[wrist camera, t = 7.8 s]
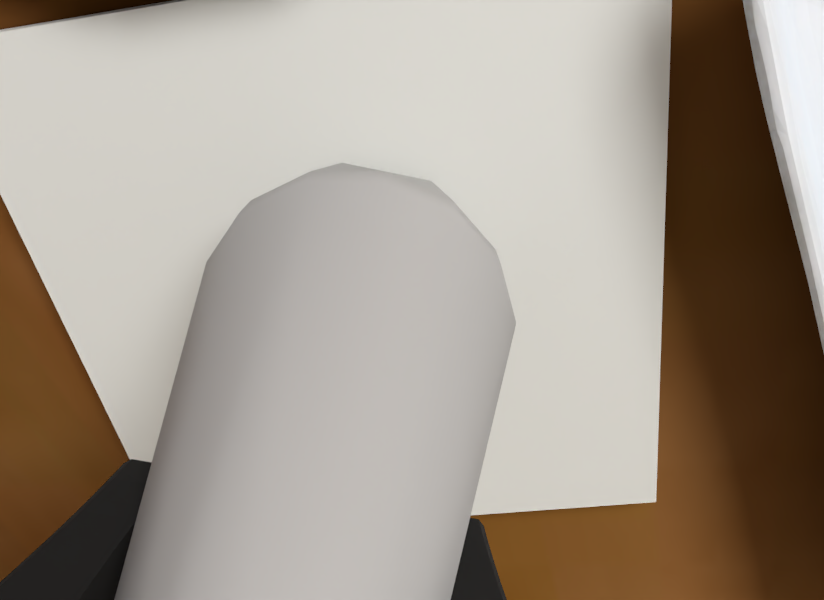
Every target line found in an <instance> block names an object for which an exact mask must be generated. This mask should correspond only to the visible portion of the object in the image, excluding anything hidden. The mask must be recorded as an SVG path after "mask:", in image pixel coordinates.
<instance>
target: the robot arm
mask: <svg viewBox="0 0 824 600" xmlns="http://www.w3.org/2000/svg"><path fill="white" fill-rule="evenodd" d="M151 463H152V462H146V461H140V460H135V459H131V460H129V461H127V462H125V463H124V464H123V465H122V466H121V467H120V468H119V469H118V470H117V471H116V472H115V473H114V474H113V475H112V476H111V477H110V478H109V479H108V480H107V481H106V483H105V484H104V485H103V486H102V487H101V488H100V489H99V490H98V491H97V492H96V493H95V494H94V495H93V496H92V497H91V498H90V499H89V500H88V501H87V502H86V503H85V504H84V505H83V506H82V507H81V508H80V509H79V510H78V511H77V512H76V513H74V514H73V515H72V516H71V517H70V518H69V519H68V520H67V521H66V522H65V523H64V524H63V525H62V526H61V527H60V528H59V529H58V530H57V531H56V532H55V533H54V534H53V535H52V536H50V537H49V538H48V539H47V540H46V541H45V542H44V543H43V544H42V545H41V546H40V547H38V548H37V549H36V550H35V551H34V552H33V553H32V554H31V555H30V556H29V557H27V558H26V559H25V560H24V561H23V562H22V563H21V564H20V565H19V566H18V567H17V568H15V569H14V570H13V571H12V572H11V573H10V574H9V575H8V576H7V577H5V578H4V579H3V580H2V581H1V582H0V600H114V599H115V595H116V592H117V588H118V584H119V581H120V577H121V573H122V570H123V566H124V562H125V559H126V555H127V551H128V548H129V544H130V540H131V537H132V533H133V529H134V526H135V522H136V518H137V515H138V511H139V507H140V504H141V500H142V496H143V493H144V489H145V485H146V482H147V478H148V474H149V471H150V467H151ZM451 600H507V599H506V597H505V594H504V591H503V588H502V585H501V582H500V579H499V576H498V573H497V570H496V567H495V564H494V560H493V557H492V554H491V551H490V547H489V544H488V540H487V537H486V533H485V529H484V526H483V525H482V523H481V522H480V521H479V520H478V519H473V518H470V520H469V524H468V528H467V533H466V537H465V541H464V545H463V550H462V554H461V558H460V562H459V566H458V571H457V575H456V579H455V583H454V587H453V592H452V596H451Z"/></svg>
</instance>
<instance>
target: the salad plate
mask: <svg viewBox="0 0 824 600" xmlns="http://www.w3.org/2000/svg"><path fill="white" fill-rule="evenodd" d="M743 5H744V11H745V16H746V21H747V27H748V32H749V38H750V43H751V49H752V54H753V59H754V65H755V70H756V74H757V79H758V83H759V88H760V92H761V97H762V101H763V106H764V110H765V115H766V119H767V123H768V127H769V131H770V135H771V139H772V143H773V147H774V151H775V155H776V159H777V163H778V167H779V171H780V175H781V179H782V183H783V187H784V191H785V195H786V198H787V202H788V206H789V210H790V214H791V218H792V222H793V226H794V230H795V234H796V238H797V241H798V245H799V249H800V253H801V257H802V261H803V265H804V269H805V273H806V276H807V280H808V285H809V289H810V294H811V298H812V303H813V307H814V312H815V316H816V321H817V325H818V330H819V335H820V339H821V344H822V348H823V353H824V0H743Z"/></svg>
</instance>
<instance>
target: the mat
mask: <svg viewBox="0 0 824 600" xmlns="http://www.w3.org/2000/svg"><path fill="white" fill-rule="evenodd" d="M671 17H672V0H172V1H166V2H160V3H154V4H148V5H142V6H136V7H131V8H125V9H119V10H113V11H107V12H101V13H95V14H90V15H84V16H78V17H72V18H66V19H60V20H54V21H49V22H43V23H37V24H31V25H25V26H19V27H13V28H8V29H2V30H0V195H1V197H2V199H3V201H4V203H5V205H6V207H7V209H8V211H9V213H10V215H11V217H12V219H13V221H14V223H15V225H16V227H17V229H18V231H19V233H20V236H21V238H22V240H23V242H24V244H25V246H26V248H27V250H28V252H29V254H30V256H31V258H32V260H33V262H34V264H35V266H36V268H37V270H38V272H39V274H40V276H41V279H42V281H43V283H44V285H45V287H46V289H47V291H48V293H49V295H50V297H51V299H52V301H53V303H54V305H55V307H56V309H57V311H58V313H59V315H60V317H61V319H62V322H63V324H64V326H65V328H66V330H67V332H68V334H69V336H70V338H71V340H72V342H73V344H74V346H75V348H76V350H77V352H78V354H79V356H80V358H81V360H82V362H83V365H84V367H85V369H86V371H87V373H88V375H89V377H90V379H91V381H92V383H93V385H94V387H95V389H96V391H97V393H98V395H99V397H100V399H101V401H102V403H103V405H104V408H105V410H106V412H107V414H108V416H109V418H110V420H111V422H112V424H113V426H114V428H115V430H116V432H117V434H118V436H119V438H120V440H121V442H122V444H123V446H124V448H125V451H126V453H127V455H128V457H129V459H130V460H131V459H135V460H140V461H146V462H152V460H153V456H154V452H155V449H156V445H157V441H158V438H159V434H160V430H161V427H162V423H163V419H164V416H165V412H166V408H167V405H168V401H169V397H170V394H171V390H172V386H173V383H174V379H175V375H176V372H177V368H178V364H179V361H180V357H181V353H182V350H183V346H184V342H185V339H186V335H187V331H188V328H189V324H190V320H191V317H192V313H193V309H194V306H195V302H196V298H197V295H198V291H199V287H200V284H201V280H202V276H203V273H204V269H205V265H206V262H207V260H208V259H209V257H210V256H211V254H212V253H213V251H214V250H215V248H216V247H217V245H218V244H219V242H220V241H221V239H222V238H223V236H224V235H225V233H226V232H227V230H228V229H229V227H230V226H231V224H232V223H233V221H234V220H235V218H236V217H237V215H238V214H239V212H240V211H241V210H242V209H243V208H244V207H245V206H246V205H247V204H248V203H249V202H250V201H251V200H253V199H255V198H257V197H259V196H261V195H263V194H265V193H267V192H269V191H271V190H273V189H275V188H277V187H279V186H281V185H283V184H285V183H287V182H290V181H292V180H294V179H296V178H298V177H300V176H302V175H304V174H306V173H308V172H310V171H313V170H317V169H321V168H324V167H328V166H331V165H335V164H339V163H346V164H351V165H356V166H361V167H366V168H371V169H376V170H380V171H385V172H390V173H395V174H400V175H405V176H410V177H415V178H420V179H424V180H429V181H432V182H433V183H434V184H435V185H436V186H437V187H438V188H440V189H441V190H442V191H443V192H444V193H445V194H446V195H447V196H449V197H450V198H451V199H452V200H453V201H454V202H455V203H456V205H457V206H458V207H459V208H460V209H461V210H462V212H463V213H464V214H465V215H466V216H467V217H468V218H469V220H470V221H471V222H472V223H473V224H474V225H475V226H476V228H477V229H478V230H479V231H480V232H481V233H482V234H483V236H484V237H485V238H486V239H487V240H488V241H489V242H490V244H491V245H492V246H493V247H494V248H495V249H496V252H497V255H498V258H499V260H500V263H501V267H502V270H503V274H504V278H505V282H506V286H507V289H508V293H509V297H510V301H511V305H512V309H513V312H514V316H515V320H516V326H515V330H514V335H513V339H512V343H511V347H510V352H509V356H508V360H507V364H506V368H505V373H504V377H503V381H502V385H501V389H500V394H499V398H498V402H497V406H496V411H495V415H494V419H493V423H492V427H491V432H490V436H489V440H488V444H487V448H486V453H485V457H484V461H483V465H482V470H481V474H480V478H479V482H478V486H477V491H476V495H475V499H474V503H473V507H472V512H471V515H482V514H496V513H510V512H524V511H538V510H552V509H566V508H580V507H594V506H608V505H622V504H636V503H649V502H656V489H657V457H658V426H659V395H660V363H661V332H662V300H663V269H664V237H665V206H666V174H667V143H668V111H669V80H670V49H671Z"/></svg>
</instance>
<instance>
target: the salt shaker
mask: <svg viewBox="0 0 824 600" xmlns="http://www.w3.org/2000/svg"><path fill="white" fill-rule="evenodd" d="M515 326H516V320H515V316H514V312H513V309H512V305H511V301H510V297H509V293H508V289H507V286H506V282H505V278H504V274H503V270H502V267H501V263H500V260H499V258H498V255H497V252H496V249H495V248H494V247H493V246H492V245H491V244H490V242H489V241H488V240H487V239H486V238H485V237H484V236H483V234H482V233H481V232H480V231H479V230H478V229H477V228H476V226H475V225H474V224H473V223H472V222H471V221H470V220H469V218H468V217H467V216H466V215H465V214H464V213H463V212H462V210H461V209H460V208H459V207H458V206H457V205H456V203H455V202H454V201H453V200H452V199H451V198H450V197H449V196H447V195H446V194H445V193H444V192H443V191H442V190H441V189H440V188H438V187H437V186H436V185H435V184H434V183H433V182H432V181H429V180H424V179H420V178H415V177H410V176H405V175H400V174H395V173H390V172H385V171H380V170H376V169H371V168H366V167H361V166H356V165H351V164H346V163H339V164H335V165H331V166H328V167H324V168H321V169H317V170H313V171H310V172H308V173H306V174H304V175H302V176H300V177H298V178H296V179H294V180H292V181H290V182H287V183H285V184H283V185H281V186H279V187H277V188H275V189H273V190H271V191H269V192H267V193H265V194H263V195H261V196H259V197H257V198H255V199H253V200H251V201H250V202H249V203H248V204H247V205H246V206H245V207H244V208H243V209H242V210H241V211H240V212H239V214H238V215H237V217H236V218H235V220H234V221H233V223H232V224H231V226H230V227H229V229H228V230H227V232H226V233H225V235H224V236H223V238H222V239H221V241H220V242H219V244H218V245H217V247H216V248H215V250H214V251H213V253H212V254H211V256H210V257H209V259H208V260H207V262H206V265H205V269H204V273H203V276H202V280H201V284H200V287H199V291H198V295H197V298H196V302H195V306H194V309H193V313H192V317H191V320H190V324H189V328H188V331H187V335H186V339H185V342H184V346H183V350H182V353H181V357H180V361H179V364H178V368H177V372H176V375H175V379H174V383H173V386H172V390H171V394H170V397H169V401H168V405H167V408H166V412H165V416H164V419H163V423H162V427H161V430H160V434H159V438H158V441H157V445H156V449H155V452H154V456H153V460H152V463H151V467H150V471H149V474H148V478H147V482H146V485H145V489H144V493H143V496H142V500H141V504H140V507H139V511H138V515H137V518H136V522H135V526H134V529H133V533H132V537H131V540H130V544H129V548H128V551H127V555H126V559H125V562H124V566H123V570H122V573H121V577H120V581H119V584H118V588H117V592H116V595H115V599H114V600H451V596H452V592H453V587H454V583H455V579H456V575H457V571H458V566H459V562H460V558H461V554H462V550H463V545H464V541H465V537H466V533H467V528H468V524H469V520H470V516H471V512H472V507H473V503H474V499H475V495H476V491H477V486H478V482H479V478H480V474H481V470H482V465H483V461H484V457H485V453H486V448H487V444H488V440H489V436H490V432H491V427H492V423H493V419H494V415H495V411H496V406H497V402H498V398H499V394H500V389H501V385H502V381H503V377H504V373H505V368H506V364H507V360H508V356H509V352H510V347H511V343H512V339H513V335H514V330H515Z"/></svg>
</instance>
